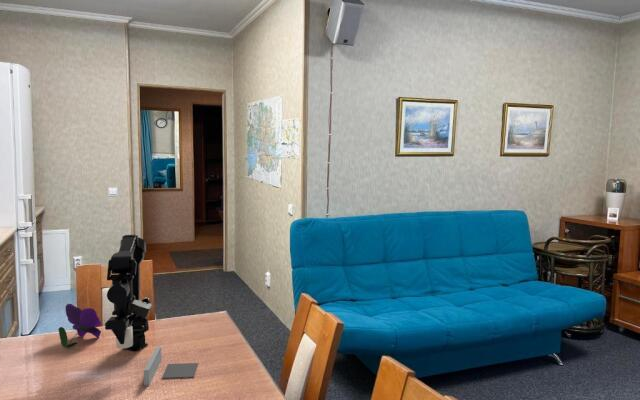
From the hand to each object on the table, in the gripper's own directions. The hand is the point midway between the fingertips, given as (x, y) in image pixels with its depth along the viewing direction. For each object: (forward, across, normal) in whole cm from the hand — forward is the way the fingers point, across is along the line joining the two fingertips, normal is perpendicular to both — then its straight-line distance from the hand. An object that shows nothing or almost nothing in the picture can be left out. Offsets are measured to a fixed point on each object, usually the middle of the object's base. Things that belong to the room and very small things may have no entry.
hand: (124, 340), depth 161 cm
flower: (+11, +27, +24) cm, 38 cm away
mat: (+11, 0, -18) cm, 21 cm away
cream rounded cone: (+2, 0, 0) cm, 2 cm away
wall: (+11, 0, -9) cm, 14 cm away
